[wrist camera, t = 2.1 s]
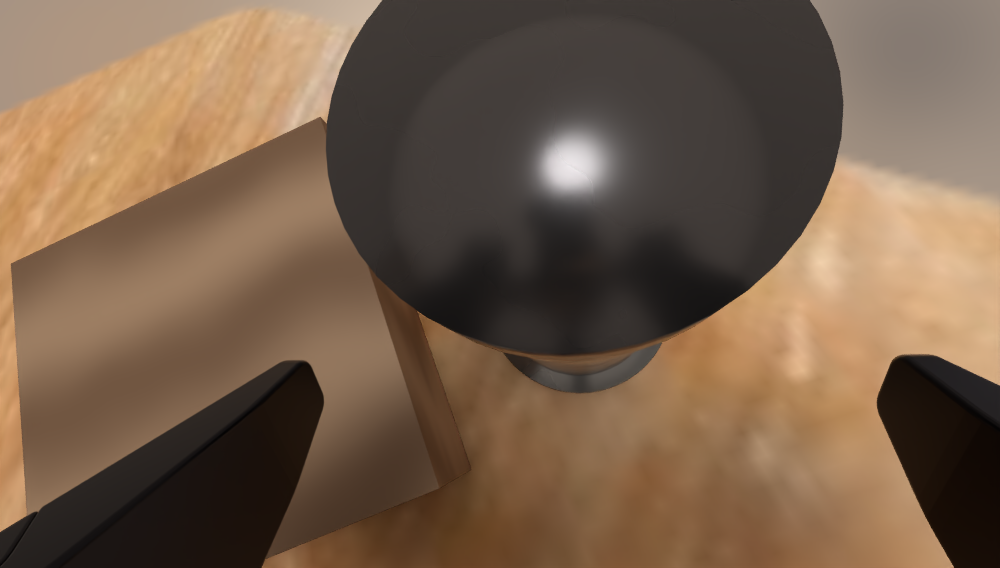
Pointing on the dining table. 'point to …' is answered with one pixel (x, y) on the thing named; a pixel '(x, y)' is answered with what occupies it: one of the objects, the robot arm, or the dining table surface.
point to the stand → (230, 338)
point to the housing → (581, 166)
